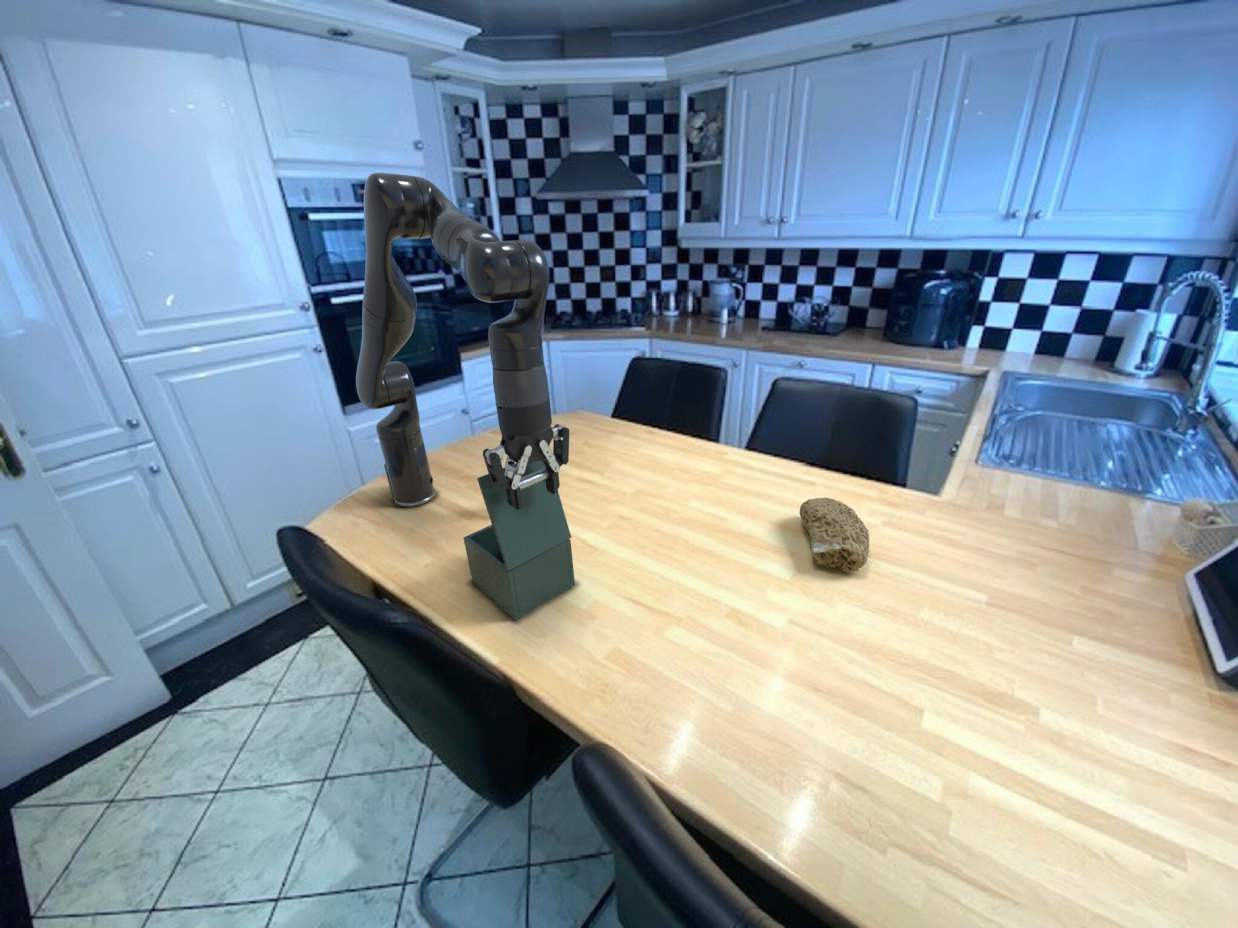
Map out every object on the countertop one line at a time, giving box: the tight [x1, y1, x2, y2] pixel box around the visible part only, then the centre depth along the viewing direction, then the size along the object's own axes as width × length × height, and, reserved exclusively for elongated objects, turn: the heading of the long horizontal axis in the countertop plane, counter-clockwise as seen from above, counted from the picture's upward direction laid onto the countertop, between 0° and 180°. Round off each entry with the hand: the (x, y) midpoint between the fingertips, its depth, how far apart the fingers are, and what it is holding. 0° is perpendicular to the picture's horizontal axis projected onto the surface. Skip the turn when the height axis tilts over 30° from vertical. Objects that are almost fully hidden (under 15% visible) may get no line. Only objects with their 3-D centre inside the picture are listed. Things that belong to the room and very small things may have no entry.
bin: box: [462, 524, 576, 621], centre depth 90 cm, size 15×13×10 cm
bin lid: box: [476, 460, 572, 570], centre depth 80 cm, size 15×13×5 cm
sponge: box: [799, 497, 870, 574], centre depth 98 cm, size 13×8×20 cm
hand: (534, 499), depth 78 cm, fingers closed on bin lid, 6 cm apart
